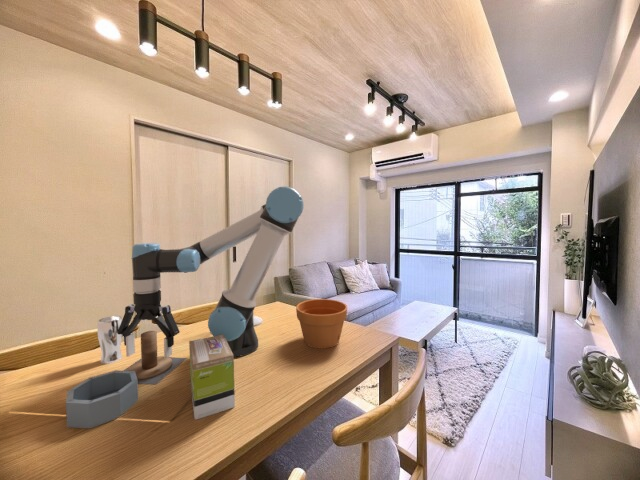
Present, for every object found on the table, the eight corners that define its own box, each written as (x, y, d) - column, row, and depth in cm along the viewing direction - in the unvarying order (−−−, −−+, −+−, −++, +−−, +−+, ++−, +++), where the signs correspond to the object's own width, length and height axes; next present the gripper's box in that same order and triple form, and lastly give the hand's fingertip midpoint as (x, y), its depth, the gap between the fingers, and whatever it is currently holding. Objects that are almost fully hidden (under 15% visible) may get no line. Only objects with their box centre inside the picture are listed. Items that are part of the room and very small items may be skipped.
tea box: (189, 388, 78) (188, 339, 77) (225, 379, 83) (224, 332, 82) (193, 422, 65) (192, 362, 64) (235, 408, 70) (235, 353, 69)
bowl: (149, 392, 76) (148, 371, 76) (106, 429, 62) (105, 404, 62) (103, 389, 77) (102, 369, 77) (51, 426, 63) (49, 401, 63)
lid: (180, 359, 94) (179, 326, 93) (154, 381, 81) (153, 342, 80) (145, 358, 94) (144, 325, 94) (114, 379, 82) (113, 341, 81)
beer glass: (110, 366, 90) (108, 323, 89) (93, 364, 91) (91, 321, 90) (128, 356, 97) (127, 316, 96) (112, 354, 98) (111, 314, 97)
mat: (187, 359, 95) (187, 357, 95) (156, 385, 79) (156, 384, 79) (144, 357, 96) (144, 356, 96) (105, 383, 80) (105, 382, 80)
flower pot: (332, 358, 96) (332, 317, 95) (285, 345, 106) (285, 308, 106) (354, 337, 114) (355, 303, 114) (313, 327, 125) (313, 296, 124)
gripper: (190, 288, 89) (191, 351, 90) (121, 287, 91) (123, 348, 92) (176, 294, 81) (178, 362, 83) (101, 292, 83) (104, 359, 84)
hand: (149, 355), depth 87 cm, fingers open, 12 cm apart
